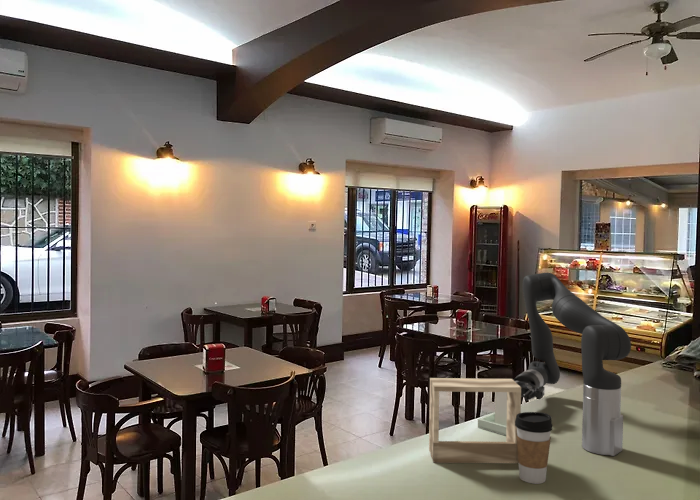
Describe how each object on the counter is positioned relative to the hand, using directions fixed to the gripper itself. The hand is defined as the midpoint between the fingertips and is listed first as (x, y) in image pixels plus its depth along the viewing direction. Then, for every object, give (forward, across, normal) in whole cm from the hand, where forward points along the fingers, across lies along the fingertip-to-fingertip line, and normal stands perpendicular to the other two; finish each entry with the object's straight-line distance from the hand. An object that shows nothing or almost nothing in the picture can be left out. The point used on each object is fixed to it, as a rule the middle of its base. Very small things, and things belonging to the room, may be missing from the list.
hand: (512, 394), depth 172 cm
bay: (+31, +1, +8) cm, 32 cm away
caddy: (+5, 0, +8) cm, 10 cm away
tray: (+5, 0, +9) cm, 10 cm away
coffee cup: (+35, +17, +9) cm, 40 cm away
